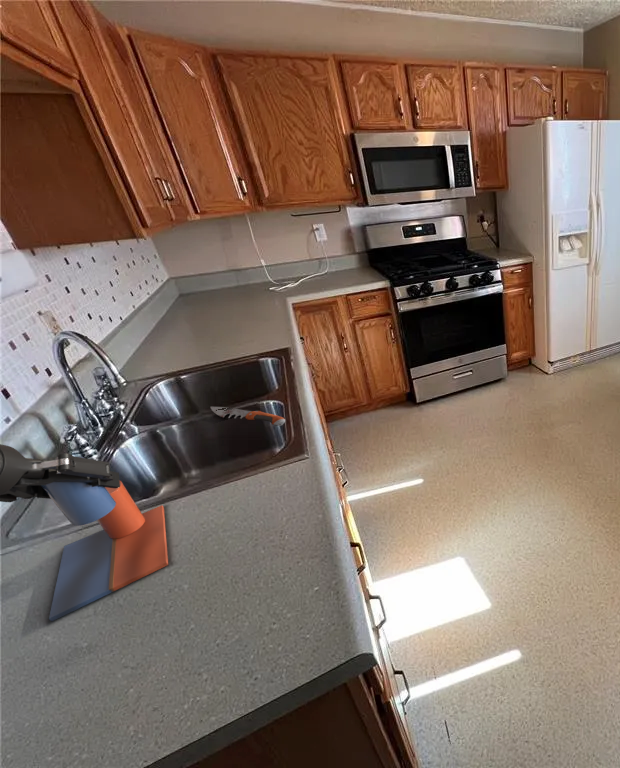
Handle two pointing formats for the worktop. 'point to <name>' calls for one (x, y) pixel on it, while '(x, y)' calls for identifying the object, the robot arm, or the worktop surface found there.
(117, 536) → the orange canister
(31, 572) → the worktop surface
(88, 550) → the sorting board
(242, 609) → the worktop surface
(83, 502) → the blue canister
